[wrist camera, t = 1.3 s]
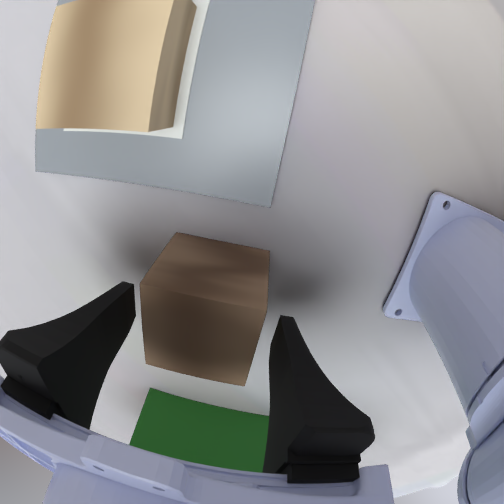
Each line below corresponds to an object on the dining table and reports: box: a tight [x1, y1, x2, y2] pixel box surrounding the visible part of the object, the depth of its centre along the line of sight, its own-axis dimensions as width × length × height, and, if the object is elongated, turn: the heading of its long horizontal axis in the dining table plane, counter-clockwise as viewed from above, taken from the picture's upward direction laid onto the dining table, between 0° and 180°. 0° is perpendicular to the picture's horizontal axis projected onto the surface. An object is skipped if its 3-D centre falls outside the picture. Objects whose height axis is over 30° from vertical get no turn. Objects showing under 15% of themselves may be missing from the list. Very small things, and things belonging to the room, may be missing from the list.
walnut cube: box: [140, 232, 270, 386], centre depth 14 cm, size 5×5×5 cm
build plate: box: [35, 0, 315, 208], centre depth 11 cm, size 14×12×1 cm
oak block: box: [36, 0, 197, 132], centre depth 9 cm, size 6×6×3 cm
